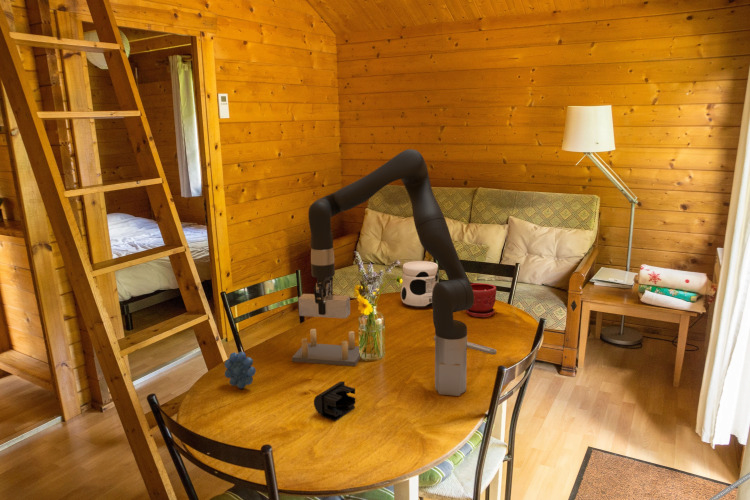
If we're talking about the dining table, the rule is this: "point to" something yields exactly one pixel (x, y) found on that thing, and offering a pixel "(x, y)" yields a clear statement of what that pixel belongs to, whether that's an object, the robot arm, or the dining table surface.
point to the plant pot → (483, 300)
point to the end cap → (335, 401)
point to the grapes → (239, 369)
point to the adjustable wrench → (480, 348)
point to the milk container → (419, 283)
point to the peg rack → (328, 352)
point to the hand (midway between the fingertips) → (324, 311)
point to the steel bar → (333, 306)
